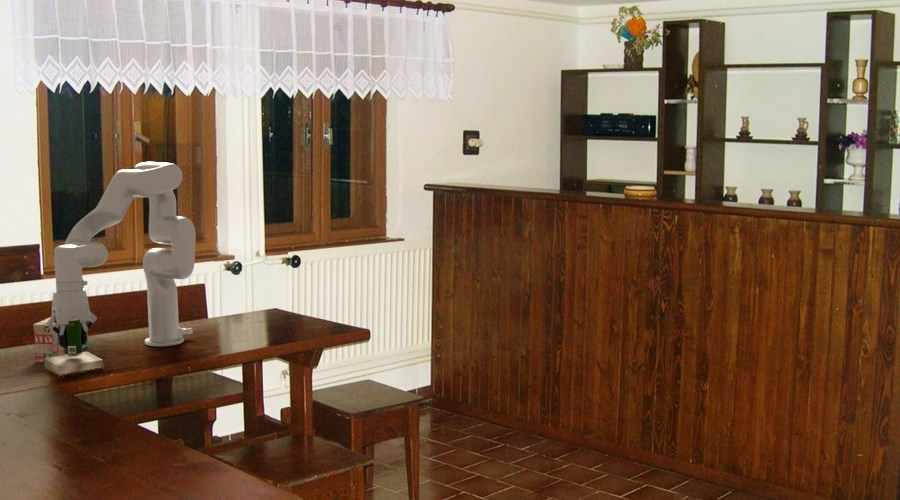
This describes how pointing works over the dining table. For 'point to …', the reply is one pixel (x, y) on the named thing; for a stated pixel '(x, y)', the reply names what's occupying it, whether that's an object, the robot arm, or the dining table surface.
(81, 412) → the dining table surface
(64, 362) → the birch base block
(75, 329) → the beer can
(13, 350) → the dining table surface
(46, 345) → the stack of blocks
